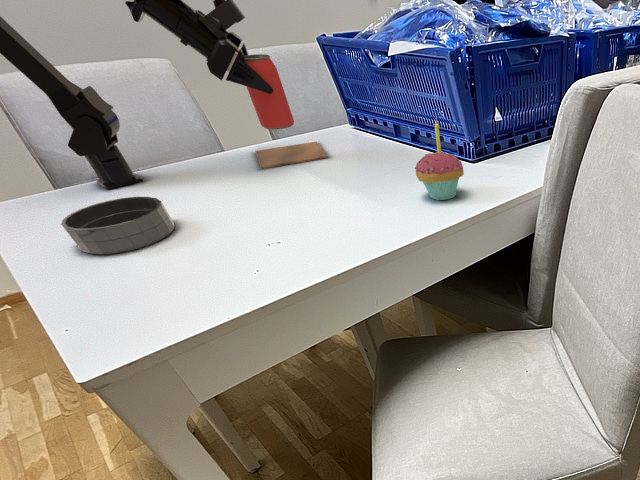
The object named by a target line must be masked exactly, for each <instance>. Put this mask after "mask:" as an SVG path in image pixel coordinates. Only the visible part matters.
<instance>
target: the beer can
mask: <svg viewBox="0 0 640 480" xmlns="http://www.w3.org/2000/svg"><path fill="white" fill-rule="evenodd" d="M244 57H245V60H246V62H247V64H248V65H249V66H250V67H251V68H253V69H254V70H255V71H256V72H257V73H258V74H259V75H260V76H261V77H262V78H263V79H264V80H265V81H266V82H267V83H268V84H269V85H270V86H271V87H272V88H273V92H272V94H269V93H266V92H263V91H260V90H257V89H254V88H250V87H247V86H245V87H246V89H247V92H248V95H249V97H250V100H251V102H252V105H253V108H254V110H255V113H256V116H257V119H258V121H259V124H260V126H261V127H262V128H264V129H266V130H273V131H274V130H284V129H288V128H291V127H293V126H294V123H295V120H294V116H293V113H292V110H291V108H290V105H289V101H288V99H287V96H286V92H285V90H284V86H283V84H282V80H281V78H280V75H279V72H278V68H277V67H276V65H275V63H274V62H273V60H272V59H271V56H270V55H269V54H264V53H263V54H262V53H261V54H259V53H257V54H248V55H245V56H244Z"/></svg>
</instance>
